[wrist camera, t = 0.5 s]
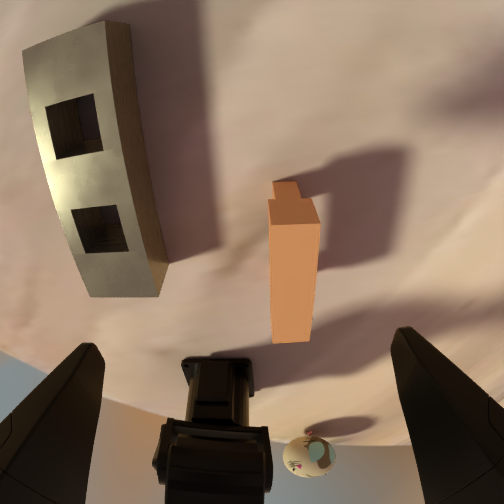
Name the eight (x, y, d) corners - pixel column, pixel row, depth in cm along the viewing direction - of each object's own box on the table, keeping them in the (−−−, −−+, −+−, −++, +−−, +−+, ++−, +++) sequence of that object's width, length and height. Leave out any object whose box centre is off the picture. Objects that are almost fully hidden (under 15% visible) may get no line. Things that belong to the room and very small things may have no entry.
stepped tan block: (299, 281, 23) (309, 341, 19) (268, 282, 23) (272, 343, 19) (302, 176, 19) (320, 223, 14) (265, 177, 19) (271, 225, 14)
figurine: (342, 430, 39) (348, 472, 34) (311, 444, 42) (315, 483, 37) (302, 420, 37) (306, 467, 31) (271, 435, 39) (272, 478, 34)
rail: (168, 264, 22) (158, 297, 20) (106, 266, 23) (90, 297, 20) (129, 24, 13) (104, 20, 10) (54, 46, 13) (22, 50, 11)
